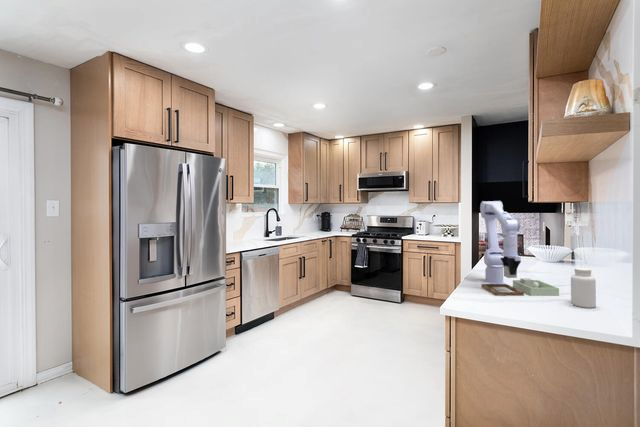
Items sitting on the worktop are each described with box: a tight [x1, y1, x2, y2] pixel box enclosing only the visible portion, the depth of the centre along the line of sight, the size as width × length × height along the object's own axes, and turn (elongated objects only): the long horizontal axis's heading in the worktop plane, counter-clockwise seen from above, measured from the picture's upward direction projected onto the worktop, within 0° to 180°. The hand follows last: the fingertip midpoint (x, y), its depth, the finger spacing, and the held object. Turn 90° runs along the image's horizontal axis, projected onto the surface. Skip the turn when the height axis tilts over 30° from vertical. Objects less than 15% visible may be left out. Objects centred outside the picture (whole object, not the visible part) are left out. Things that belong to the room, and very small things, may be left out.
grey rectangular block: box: [519, 277, 535, 288], centre depth 157 cm, size 4×4×5 cm
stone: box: [503, 266, 518, 279], centre depth 155 cm, size 4×4×5 cm
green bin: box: [512, 279, 560, 297], centre depth 155 cm, size 16×12×4 cm
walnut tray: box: [481, 283, 525, 297], centre depth 156 cm, size 16×12×2 cm
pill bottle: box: [570, 267, 597, 309], centre depth 134 cm, size 8×8×15 cm
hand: (510, 273), depth 155 cm, fingers closed on stone, 4 cm apart
